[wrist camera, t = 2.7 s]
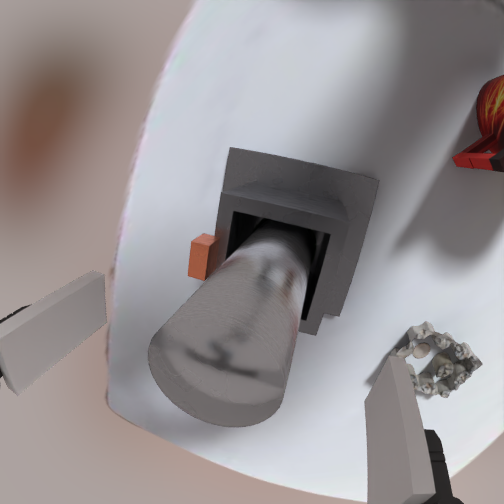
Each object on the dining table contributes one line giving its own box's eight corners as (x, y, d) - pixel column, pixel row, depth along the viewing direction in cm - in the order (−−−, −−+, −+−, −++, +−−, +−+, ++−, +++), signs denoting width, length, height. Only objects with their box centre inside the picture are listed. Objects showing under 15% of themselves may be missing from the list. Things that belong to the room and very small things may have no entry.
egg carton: (380, 358, 32) (383, 380, 28) (421, 309, 29) (430, 329, 25) (437, 388, 31) (444, 409, 27) (476, 347, 28) (487, 366, 24)
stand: (233, 147, 28) (174, 143, 17) (377, 179, 26) (411, 195, 15) (212, 278, 33) (158, 336, 22) (339, 312, 31) (339, 389, 20)
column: (265, 200, 28) (141, 289, 9) (323, 214, 27) (312, 340, 8) (253, 260, 30) (145, 407, 11) (308, 274, 29) (268, 450, 10)
